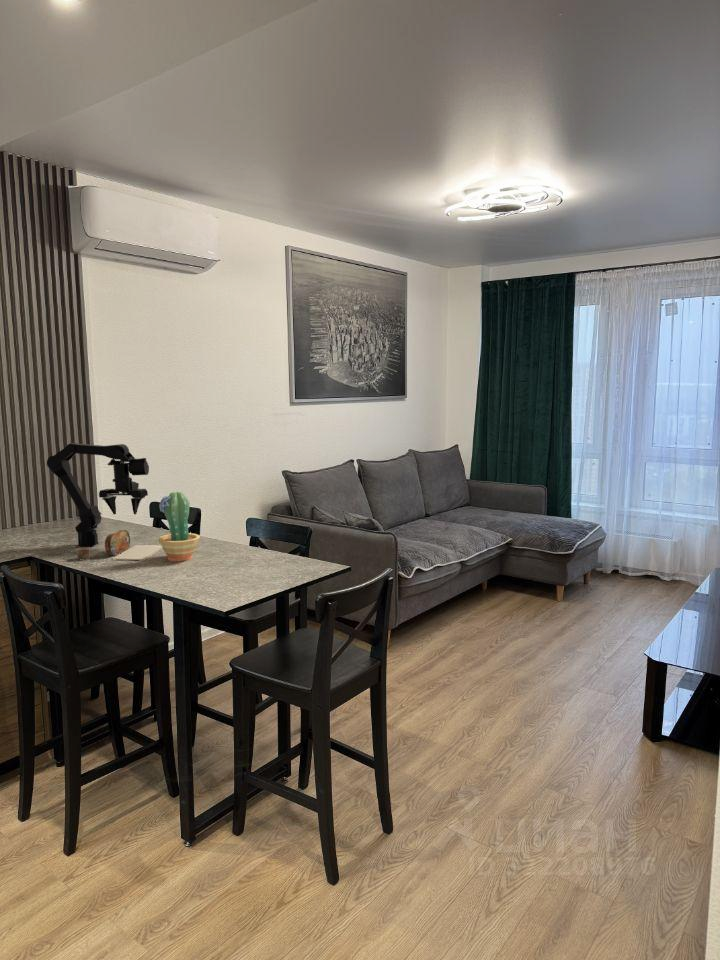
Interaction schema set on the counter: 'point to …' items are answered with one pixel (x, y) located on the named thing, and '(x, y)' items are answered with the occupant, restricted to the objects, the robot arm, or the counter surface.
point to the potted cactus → (177, 528)
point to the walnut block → (84, 553)
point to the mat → (138, 552)
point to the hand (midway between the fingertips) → (124, 514)
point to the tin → (117, 542)
